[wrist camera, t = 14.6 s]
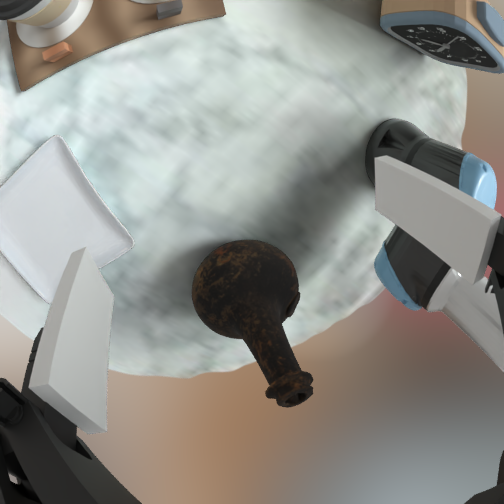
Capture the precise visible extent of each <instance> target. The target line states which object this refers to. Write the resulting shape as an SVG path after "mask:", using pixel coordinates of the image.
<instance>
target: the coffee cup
mask: <svg viewBox="0 0 504 504" xmlns="http://www.w3.org/2000/svg"><path fill="white" fill-rule="evenodd" d="M78 2H79V0H0V20H8V21H12V22H17V23H22V24H27V25H31V26H40V27H44V28H53V27H56V26H59V25H61V24H62V23H64V22H65V21H66V20H68V19H69V18H70V17H71V16H72V14H73V13H74V12H75V10H76V8H77V6H78Z"/></svg>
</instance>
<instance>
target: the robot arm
mask: <svg viewBox="0 0 504 504" xmlns="http://www.w3.org/2000/svg"><path fill="white" fill-rule="evenodd" d="M366 169H367V173H368V176H369V178H370V180H371V181H372V183H373V184H374V185H375V210H376V211H378V212H379V213H380V214H382V215H383V216H385V217H386V218H388V219H389V220H390V221H392V222H393V223H395V226H394V228H393V229H392V231H391V233H390V234H389V236H388V237H387V239H386V240H385V241H384V242H383V245H382V248H381V250H380V251H379V253H378V255H377V257H376V259H375V262H374V266H375V271H376V274H377V276H378V277H379V279H380V281H381V282H382V283H383V285H384V286H385V287H386V288H387V290H389V292H390V293H391V294H392V295H393V296H394V297H395V298H396V299H397V300H398V301H401V302H402V303H403V304H404V305H405V306H406V307H407V308H409V309H411V310H419V309H421V308H422V307H423V308H424V309H426V310H427V311H428V312H435V311H442V312H443V313H444V314H445V315H447V317H449V318H450V319H451V320H452V321H453V322H454V323H455V324H456V325H457V326H458V327H459V328H460V329H461V330H462V331H463V332H464V333H465V334H467V335H468V336H469V337H470V338H471V339H472V340H473V341H474V342H475V343H476V344H477V345H478V346H479V347H480V348H481V349H482V350H483V351H484V352H485V353H486V354H487V355H488V356H489V357H490V358H491V359H492V360H493V361H494V362H495V363H496V364H497V366H498V367H499V368H500V369H501V370H502V371H503V372H504V218H503V217H502V216H501V214H499V213H498V212H496V211H495V210H494V206H495V201H496V191H497V185H496V178H495V174H494V171H493V169H492V168H491V166H490V165H489V164H488V163H487V162H485V161H483V160H481V159H479V158H477V157H476V156H475V155H473V154H472V153H468V152H465V151H463V150H460V149H458V148H455V147H453V146H450V145H448V144H445V143H442V142H439V141H437V140H434V139H431V138H429V137H428V136H427V135H426V134H425V133H424V132H422V131H421V130H420V129H419V128H417V127H416V126H415V125H414V124H412V123H410V122H408V121H404V120H401V119H391V120H388V121H386V122H384V123H382V124H381V125H380V126H379V127H378V128H377V129H376V130H375V132H374V133H373V135H372V137H371V139H370V141H369V144H368V147H367V151H366ZM487 265H489V266H490V267H491V268H492V271H491V274H490V276H489V279H487V278H486V277H485V276H484V274H485V271H486V268H487ZM113 305H114V295H113V293H112V292H111V290H110V288H109V287H108V285H107V283H106V281H105V280H104V278H103V276H102V274H101V273H100V271H99V269H98V267H97V265H96V264H95V262H94V260H93V258H92V256H91V254H90V252H89V250H88V249H87V247H84V248H82V249H79V250H77V251H74V252H72V253H71V255H70V258H69V260H68V262H67V265H66V267H65V270H64V272H63V275H62V277H61V280H60V282H59V285H58V288H57V290H56V293H55V296H54V299H53V301H52V304H51V307H50V310H49V313H48V316H47V319H46V322H45V326H44V327H43V328H41V330H40V332H39V333H38V335H37V336H36V338H35V340H34V343H33V347H32V351H31V352H32V353H31V354H30V358H29V363H28V365H27V370H26V373H25V378H24V382H23V387H22V391H21V393H20V392H19V391H18V390H17V389H16V388H15V387H14V386H13V385H12V384H10V383H9V382H8V381H7V380H6V379H4V378H0V504H142V503H141V502H140V501H138V500H137V499H136V498H135V497H134V496H133V495H132V494H131V493H130V492H129V491H128V490H127V489H126V488H125V487H124V486H123V485H122V484H121V483H120V482H119V481H118V480H117V479H116V478H115V477H114V476H113V475H112V474H111V473H110V472H109V471H108V470H107V469H106V468H105V466H104V465H103V464H102V463H101V462H100V461H99V460H98V458H97V457H96V456H95V455H94V454H93V453H92V451H91V450H90V449H89V448H88V447H87V445H86V444H85V443H84V442H83V440H81V439H80V438H79V437H78V436H76V433H77V427H78V428H80V429H81V430H83V431H84V432H86V433H87V434H95V433H103V432H107V379H108V359H109V344H110V333H111V322H112V313H113ZM8 473H9V474H11V475H13V476H15V477H16V478H17V482H18V484H15V483H13V482H11V481H10V478H9V474H8ZM465 504H504V451H503V453H502V456H501V459H500V464H499V473H498V480H497V486H495V487H493V488H491V489H489V490H486V491H484V492H481V493H478V494H476V495H474V496H473V497H472V498H470V499H469V500H468V501H467V502H466V503H465Z"/></svg>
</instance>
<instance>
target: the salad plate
mask: <svg viewBox="0 0 504 504" xmlns="http://www.w3.org/2000/svg"><path fill="white" fill-rule="evenodd" d="M134 245H135V242H134V239H133V238H132V236H131V235H130V233H129V232H128V231H127V229H126V228H125V227H124V226H123V224H122V223H121V222H120V221H119V220H118V218H117V217H116V216H115V215H114V214H113V212H112V211H111V210H110V209H109V207H108V206H107V205H106V203H105V202H104V201H103V199H102V198H101V197H100V195H99V194H98V193H97V191H96V190H95V188H94V187H93V185H92V184H91V182H90V181H89V179H88V178H87V176H86V175H85V173H84V172H83V170H82V168H81V167H80V165H79V163H78V161H77V160H76V158H75V156H74V155H73V153H72V151H71V150H70V148H69V146H68V145H67V143H66V141H65V140H64V139H63V137H61V136H60V135H54V136H52V137H51V138H50V139H48V140H47V141H46V142H45V143H44V144H42V145H41V146H40V147H39V148H38V149H37V150H36V151H35V152H34V153H33V154H32V155H31V156H30V157H29V158H28V159H27V160H26V161H25V162H24V163H23V164H22V165H21V166H20V167H19V168H18V169H17V170H16V171H15V172H14V173H13V174H12V175H11V177H10V178H9V179H8V180H7V181H6V182H5V183H4V184H3V185H2V186H1V187H0V251H1V253H2V254H3V255H4V256H5V258H6V259H7V260H8V261H9V262H10V263H11V265H12V266H13V267H14V268H15V269H16V270H17V272H18V273H19V274H20V275H21V276H22V277H23V278H24V280H25V281H26V282H27V283H28V284H29V285H30V286H31V287H32V288H33V289H34V290H35V292H36V293H37V294H38V295H39V296H40V297H41V298H42V299H43V300H44V301H45V302H47V303H48V304H52V301H53V299H54V296H55V293H56V290H57V288H58V285H59V282H60V280H61V277H62V275H63V272H64V270H65V267H66V265H67V262H68V260H69V258H70V255H71V253H72V252H74V251H77V250H79V249H82V248H84V247H87V249H88V250H89V252H90V254H91V256H92V258H93V260H94V262H95V264H96V265H97V267H98V269H100V268H102V267H104V266H105V265H107V264H108V263H110V262H112V261H113V260H115V259H117V258H118V257H120V256H121V255H123V254H124V253H126V252H127V251H129V250H130V249H132V248H133V247H134Z"/></svg>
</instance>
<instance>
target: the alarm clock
mask: <svg viewBox="0 0 504 504" xmlns="http://www.w3.org/2000/svg"><path fill="white" fill-rule="evenodd" d="M380 26H381V28H382V30H384V31H385V32H387V33H388V34H390V35H392V36H393V37H395V38H397V39H399V40H401V41H402V42H404V43H406V44H408V45H410V46H411V47H413V48H415V49H416V50H418V51H420V52H421V53H423V54H425V55H427V56H429V57H431V58H433V59H435V60H438V61H440V62H443V63H446V64H450V65H454V66H459V67H465V68H471V69H476V70H481V71H487V72H491V73H499V74H500V73H504V20H503V19H502V17H501V16H500V15H499V13H498V12H497V11H496V10H495V9H494V8H493V7H492V6H491V4H490V3H489V2H488V1H487V0H382V7H381V17H380Z"/></svg>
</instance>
